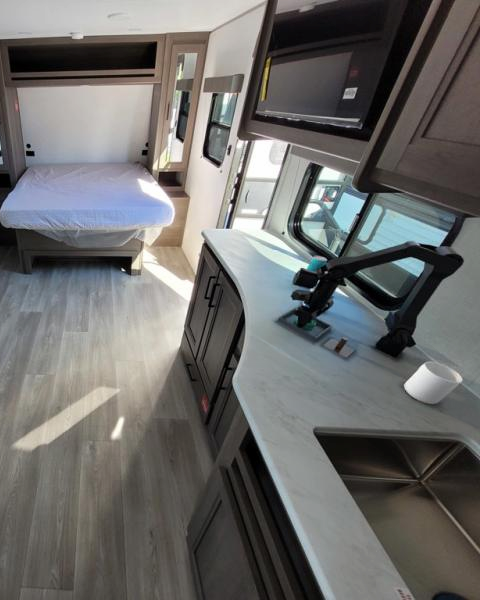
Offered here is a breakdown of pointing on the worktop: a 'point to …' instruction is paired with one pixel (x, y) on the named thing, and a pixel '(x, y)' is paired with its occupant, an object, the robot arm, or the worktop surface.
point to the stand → (339, 346)
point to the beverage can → (316, 263)
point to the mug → (432, 382)
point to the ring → (307, 325)
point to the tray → (301, 331)
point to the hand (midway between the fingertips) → (303, 324)
